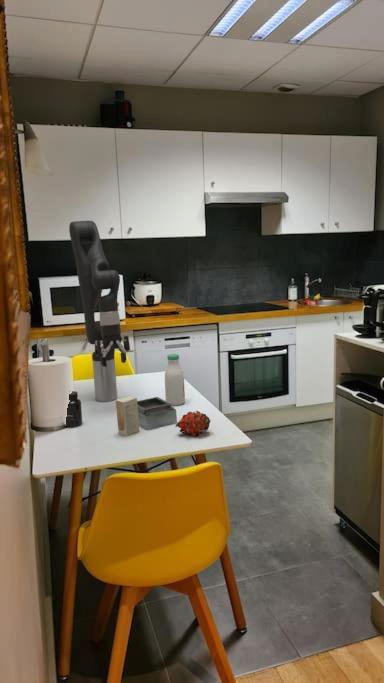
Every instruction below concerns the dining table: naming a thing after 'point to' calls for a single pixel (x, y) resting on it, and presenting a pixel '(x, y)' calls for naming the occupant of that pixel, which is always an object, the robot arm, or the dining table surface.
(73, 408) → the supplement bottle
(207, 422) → the dragon fruit
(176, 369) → the milk bottle
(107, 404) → the dining table surface
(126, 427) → the skincare box
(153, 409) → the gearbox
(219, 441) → the dining table surface
